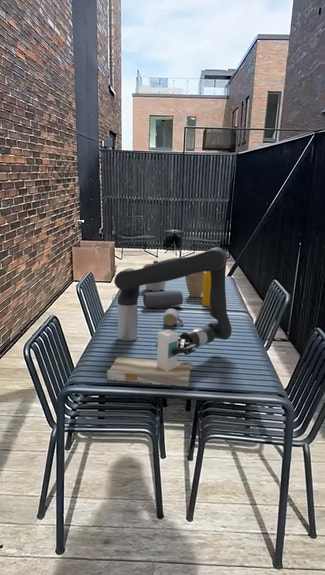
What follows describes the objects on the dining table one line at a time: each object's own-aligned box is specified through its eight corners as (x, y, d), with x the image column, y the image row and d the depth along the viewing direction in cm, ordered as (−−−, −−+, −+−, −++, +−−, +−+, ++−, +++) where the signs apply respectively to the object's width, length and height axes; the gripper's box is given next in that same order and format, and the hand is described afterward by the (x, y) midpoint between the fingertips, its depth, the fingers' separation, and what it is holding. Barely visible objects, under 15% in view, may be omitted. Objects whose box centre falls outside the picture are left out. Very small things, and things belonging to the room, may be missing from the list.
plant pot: (191, 292, 273) (192, 270, 269) (210, 296, 264) (211, 273, 260) (179, 296, 261) (180, 273, 257) (198, 300, 252) (200, 276, 249)
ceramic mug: (162, 326, 203) (163, 312, 201) (164, 321, 211) (165, 307, 209) (182, 328, 202) (183, 313, 200) (183, 322, 210) (184, 309, 208)
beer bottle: (212, 307, 238) (215, 261, 231) (199, 304, 243) (201, 259, 236) (219, 304, 245) (222, 259, 238) (206, 301, 250) (209, 257, 243)
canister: (158, 294, 265) (159, 263, 260) (137, 290, 275) (137, 260, 270) (172, 289, 280) (173, 260, 275) (151, 285, 290) (152, 257, 285)
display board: (117, 362, 159) (117, 354, 158) (190, 368, 155) (191, 360, 154) (107, 380, 144) (107, 371, 143) (188, 387, 140) (188, 378, 139)
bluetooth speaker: (177, 304, 244) (178, 288, 241) (183, 308, 235) (183, 292, 233) (142, 306, 237) (142, 290, 234) (146, 311, 228) (147, 294, 226)
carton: (157, 366, 151) (157, 332, 148) (167, 362, 155) (168, 329, 151) (166, 371, 147) (167, 336, 144) (177, 367, 151) (178, 333, 147)
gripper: (181, 325, 163) (152, 334, 152) (207, 335, 153) (178, 345, 142) (180, 342, 165) (151, 352, 154) (206, 353, 154) (177, 364, 144)
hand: (164, 349), depth 148 cm, fingers open, 8 cm apart
